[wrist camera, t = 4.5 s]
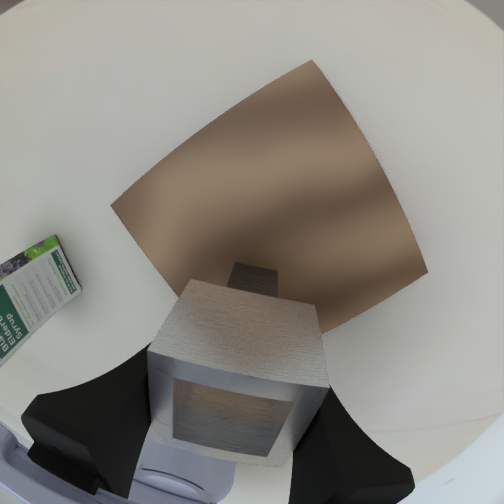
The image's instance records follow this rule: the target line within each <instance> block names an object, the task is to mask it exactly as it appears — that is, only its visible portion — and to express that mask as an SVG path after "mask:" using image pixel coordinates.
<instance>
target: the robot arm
mask: <svg viewBox="0 0 504 504" xmlns="http://www.w3.org/2000/svg"><path fill="white" fill-rule="evenodd" d="M151 343H152V342H151ZM151 343H149V344H148V345H147V346H146V347H145V348H143V349H142V350H141V351H139V352H138V353H137V354H135V355H134V356H133V357H131V358H130V359H128V360H127V361H125V362H124V363H122V364H121V365H119V366H118V367H116V368H114V369H113V370H111V371H109V372H107V373H105V374H103V375H101V376H99V377H97V378H95V379H93V380H91V381H88V382H86V383H83V384H81V385H78V386H75V387H71V388H68V389H65V390H61V391H56V392H51V393H46V394H40V395H37V396H36V397H35V398H34V400H33V401H32V402H31V403H30V405H29V406H28V407H27V409H26V410H25V412H24V413H23V414H22V416H21V420H22V423H23V425H24V427H25V428H26V430H27V431H28V433H29V435H30V436H31V438H32V439H33V440H34V443H33V445H32V446H31V448H30V450H29V449H28V448H26V447H25V446H23V445H22V444H21V443H19V442H18V440H17V438H16V437H15V436H14V435H13V433H12V432H11V431H9V430H8V429H7V428H6V427H4V426H3V425H2V424H1V423H0V486H1V487H2V488H4V489H5V490H6V491H7V492H9V493H10V494H11V495H13V496H14V497H15V498H17V499H18V500H19V501H21V502H22V503H24V504H217V503H218V502H219V501H221V500H222V499H224V498H225V497H226V495H227V494H228V493H229V491H230V490H231V487H232V485H233V480H234V474H235V467H236V462H235V461H229V460H224V459H219V458H214V457H209V456H205V455H200V454H196V453H192V452H188V451H184V450H181V449H177V448H174V447H170V446H167V445H163V444H160V443H157V442H154V441H153V432H152V425H151V412H150V399H149V384H148V362H147V350H148V348H149V346H150V345H151ZM329 385H330V384H329ZM150 425H151V428H150V430H149V427H150ZM148 430H149V433H148V435H147V432H148ZM146 435H147V437H146ZM145 438H146V440H145ZM144 441H145V442H144ZM143 444H144V445H143ZM414 488H415V483H414V479H413V475H412V472H411V469H410V468H409V467H407V466H406V465H404V464H403V463H401V462H399V461H398V460H396V459H395V458H393V457H392V456H391V455H389V454H388V453H387V452H385V451H384V450H383V449H382V448H380V447H379V446H378V445H377V444H376V443H375V442H374V441H373V440H371V439H370V438H369V437H368V436H367V435H366V434H365V433H364V432H363V431H362V429H361V428H360V427H359V426H358V425H357V424H356V423H355V421H354V420H353V419H352V418H351V416H350V415H349V414H348V412H347V411H346V410H345V408H344V407H343V405H342V404H341V402H340V401H339V399H338V397H337V396H336V394H335V393H334V391H333V389H332V388H331V386H330V389H329V391H328V393H327V394H326V396H325V398H324V400H323V402H322V404H321V405H320V407H319V409H318V411H317V413H316V414H315V416H314V418H313V420H312V421H311V423H310V425H309V426H308V428H307V430H306V431H305V433H304V435H303V436H302V438H301V440H300V441H299V443H298V444H297V446H296V448H295V449H294V451H293V466H292V478H291V488H290V496H289V503H288V504H397V503H398V502H399V501H401V500H402V499H404V498H405V497H407V496H408V495H409V494H410V493H412V491H413V490H414Z"/></svg>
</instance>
